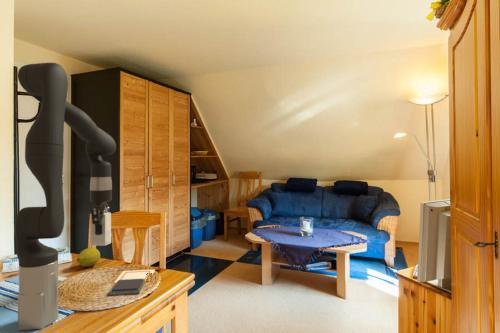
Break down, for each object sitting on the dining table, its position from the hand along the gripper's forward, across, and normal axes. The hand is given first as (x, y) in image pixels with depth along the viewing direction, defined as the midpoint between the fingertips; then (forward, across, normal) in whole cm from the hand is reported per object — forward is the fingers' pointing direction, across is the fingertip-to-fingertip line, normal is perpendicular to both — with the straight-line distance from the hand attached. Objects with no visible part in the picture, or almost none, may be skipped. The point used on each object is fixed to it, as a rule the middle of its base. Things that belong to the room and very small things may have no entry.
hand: (101, 232), depth 112 cm
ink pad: (+19, -7, -12) cm, 24 cm away
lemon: (+19, +20, +12) cm, 30 cm away
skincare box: (+5, 0, 0) cm, 5 cm away
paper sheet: (+19, +4, -12) cm, 23 cm away
